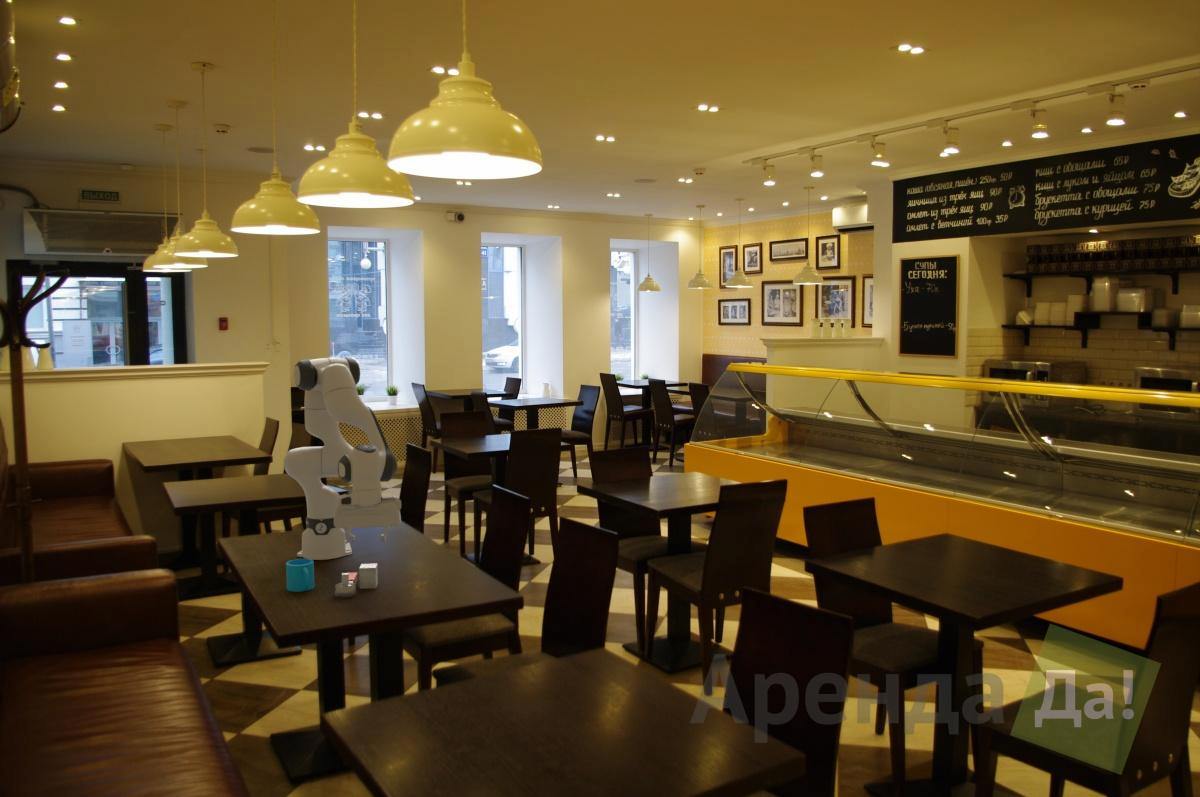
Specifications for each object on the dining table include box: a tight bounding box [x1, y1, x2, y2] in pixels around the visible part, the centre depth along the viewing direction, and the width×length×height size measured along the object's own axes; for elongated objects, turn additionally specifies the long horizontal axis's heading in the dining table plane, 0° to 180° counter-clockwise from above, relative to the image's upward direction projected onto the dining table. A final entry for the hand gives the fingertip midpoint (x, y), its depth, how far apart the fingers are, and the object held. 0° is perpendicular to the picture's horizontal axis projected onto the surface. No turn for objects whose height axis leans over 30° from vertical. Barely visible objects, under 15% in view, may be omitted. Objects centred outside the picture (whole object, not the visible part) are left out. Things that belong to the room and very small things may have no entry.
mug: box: [285, 558, 315, 593], centre depth 277 cm, size 12×8×8 cm
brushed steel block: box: [358, 563, 379, 590], centre depth 281 cm, size 5×5×6 cm
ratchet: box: [334, 571, 359, 599], centre depth 278 cm, size 18×6×6 cm, turn 8°
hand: (368, 541), depth 279 cm, fingers open, 8 cm apart
